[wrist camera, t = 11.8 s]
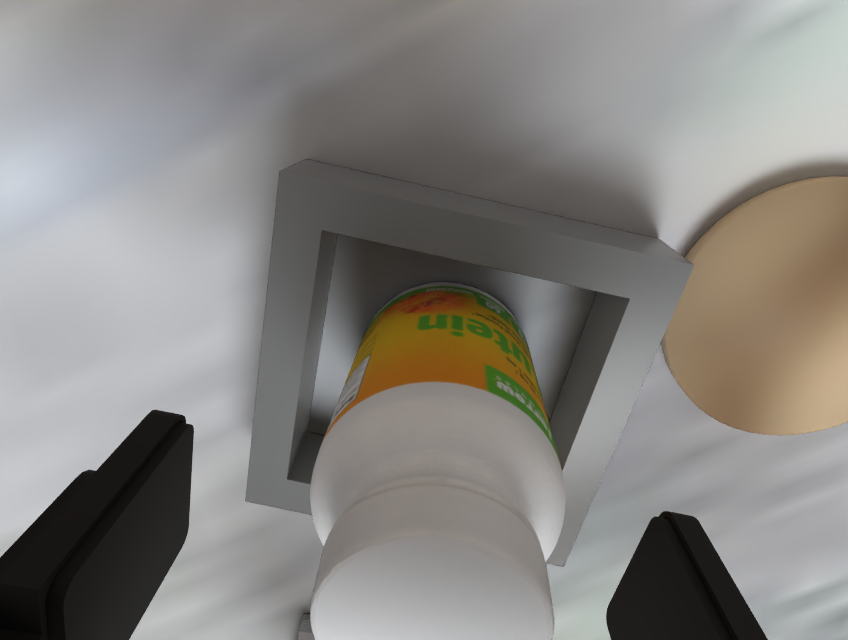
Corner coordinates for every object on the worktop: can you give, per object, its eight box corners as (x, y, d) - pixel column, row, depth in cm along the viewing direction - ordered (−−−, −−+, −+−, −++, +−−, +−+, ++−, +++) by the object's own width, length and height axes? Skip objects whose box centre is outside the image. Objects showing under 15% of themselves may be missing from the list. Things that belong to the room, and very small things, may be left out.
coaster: (1007, 211, 15) (1028, 216, 14) (855, 446, 18) (867, 457, 17) (727, 146, 15) (738, 148, 14) (622, 396, 18) (628, 405, 17)
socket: (659, 239, 16) (694, 264, 13) (551, 511, 20) (563, 567, 18) (305, 158, 15) (279, 171, 13) (270, 452, 19) (245, 501, 17)
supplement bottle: (558, 319, 17) (673, 577, 8) (482, 448, 19) (506, 770, 10) (398, 250, 16) (328, 445, 7) (338, 391, 18) (226, 678, 9)
